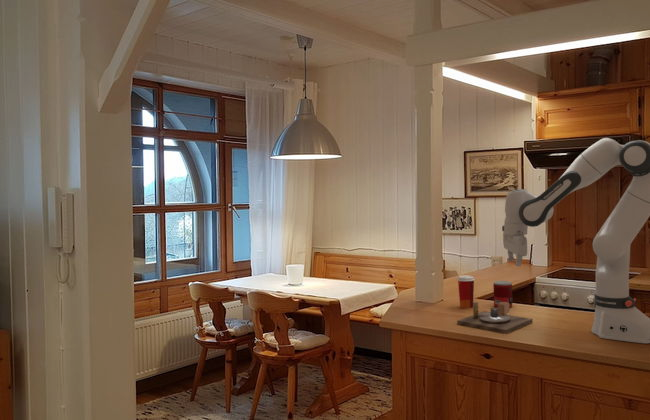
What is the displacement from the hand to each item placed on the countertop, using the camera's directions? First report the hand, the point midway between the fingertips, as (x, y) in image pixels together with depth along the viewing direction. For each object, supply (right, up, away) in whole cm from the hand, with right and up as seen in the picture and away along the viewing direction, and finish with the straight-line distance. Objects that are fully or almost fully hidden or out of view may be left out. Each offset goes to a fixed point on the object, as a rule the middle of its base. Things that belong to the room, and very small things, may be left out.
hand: (514, 263), depth 233 cm
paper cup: (-12, -23, +30) cm, 39 cm away
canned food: (+4, -22, +28) cm, 36 cm away
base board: (-8, -24, +1) cm, 26 cm away
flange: (-7, -22, +2) cm, 24 cm away
